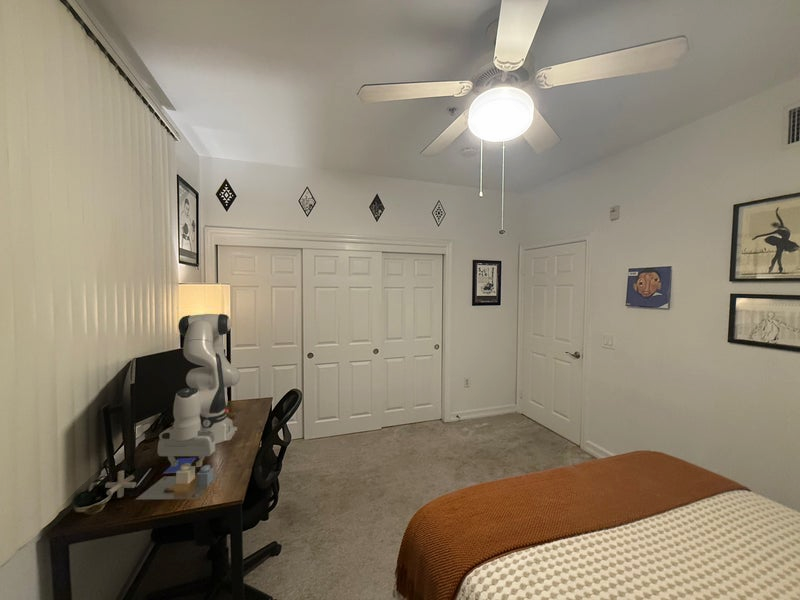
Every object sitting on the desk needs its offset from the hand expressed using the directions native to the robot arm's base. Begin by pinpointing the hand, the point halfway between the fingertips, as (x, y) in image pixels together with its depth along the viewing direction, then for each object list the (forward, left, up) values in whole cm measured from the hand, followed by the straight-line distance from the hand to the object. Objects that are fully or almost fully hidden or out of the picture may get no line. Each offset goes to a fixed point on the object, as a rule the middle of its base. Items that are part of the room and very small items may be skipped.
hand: (186, 465), depth 121 cm
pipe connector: (+4, -22, -10) cm, 25 cm away
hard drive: (-18, -14, -11) cm, 25 cm away
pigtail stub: (+1, -3, -9) cm, 10 cm away
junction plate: (-2, -4, -10) cm, 11 cm away
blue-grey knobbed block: (-5, +4, -9) cm, 12 cm away
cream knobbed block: (+1, 0, -5) cm, 5 cm away
